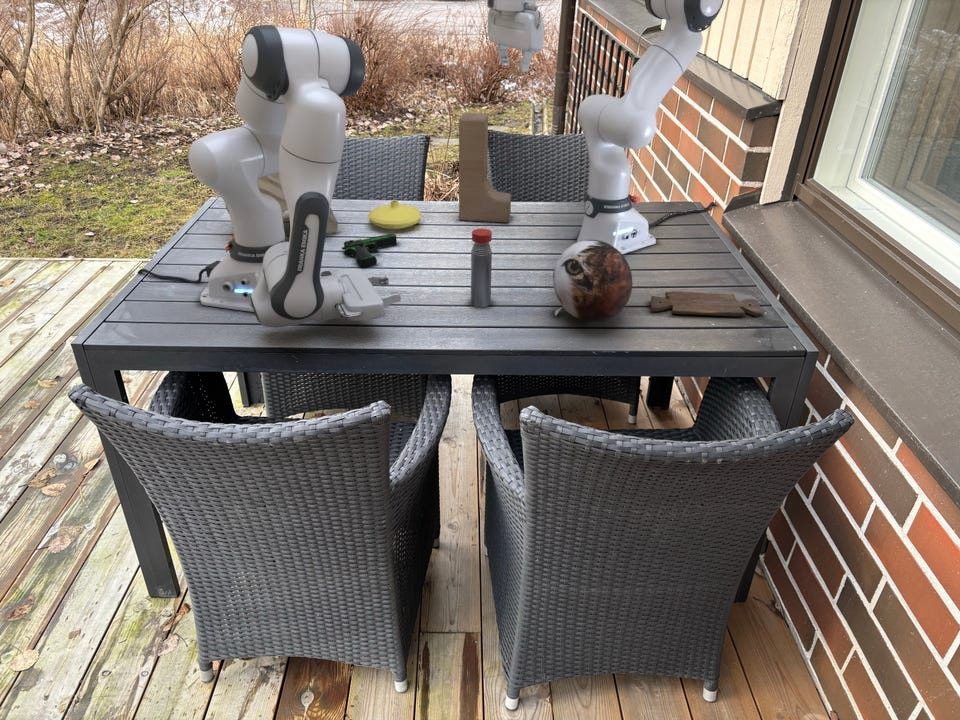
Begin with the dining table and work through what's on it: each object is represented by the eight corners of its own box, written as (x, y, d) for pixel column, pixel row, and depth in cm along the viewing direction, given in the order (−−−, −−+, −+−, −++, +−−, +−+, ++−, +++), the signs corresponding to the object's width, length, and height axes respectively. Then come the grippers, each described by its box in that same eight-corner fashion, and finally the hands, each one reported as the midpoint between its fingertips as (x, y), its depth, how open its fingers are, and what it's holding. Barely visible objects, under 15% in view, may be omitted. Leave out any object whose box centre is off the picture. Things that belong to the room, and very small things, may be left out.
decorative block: (508, 223, 214) (511, 120, 199) (458, 220, 216) (458, 118, 200) (510, 215, 220) (514, 114, 205) (462, 212, 222) (462, 112, 207)
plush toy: (529, 271, 171) (588, 211, 162) (582, 317, 175) (643, 261, 167) (526, 311, 151) (593, 245, 143) (586, 361, 156) (655, 300, 148)
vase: (376, 214, 219) (375, 191, 216) (426, 217, 218) (426, 194, 214) (362, 232, 206) (360, 208, 202) (415, 235, 204) (415, 212, 201)
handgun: (354, 259, 182) (336, 238, 193) (354, 270, 184) (336, 248, 195) (413, 250, 189) (392, 230, 200) (413, 260, 190) (392, 240, 201)
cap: (493, 237, 161) (493, 229, 160) (489, 244, 158) (489, 236, 157) (474, 235, 162) (474, 227, 161) (469, 242, 158) (469, 234, 157)
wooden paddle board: (645, 296, 172) (651, 316, 164) (646, 290, 171) (652, 309, 163) (754, 299, 171) (766, 319, 163) (755, 293, 170) (767, 312, 162)
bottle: (492, 300, 169) (494, 231, 161) (488, 308, 166) (489, 238, 157) (473, 298, 170) (474, 229, 161) (468, 306, 166) (469, 236, 158)
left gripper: (339, 304, 143) (406, 293, 147) (320, 267, 159) (380, 258, 164) (343, 332, 146) (408, 320, 150) (323, 293, 162) (382, 284, 167)
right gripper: (553, 5, 152) (549, 74, 159) (507, -2, 167) (505, 61, 174) (527, 5, 149) (524, 76, 156) (483, -2, 165) (482, 62, 172)
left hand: (393, 288), depth 157 cm, fingers open, 8 cm apart
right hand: (513, 68), depth 165 cm, fingers open, 8 cm apart
